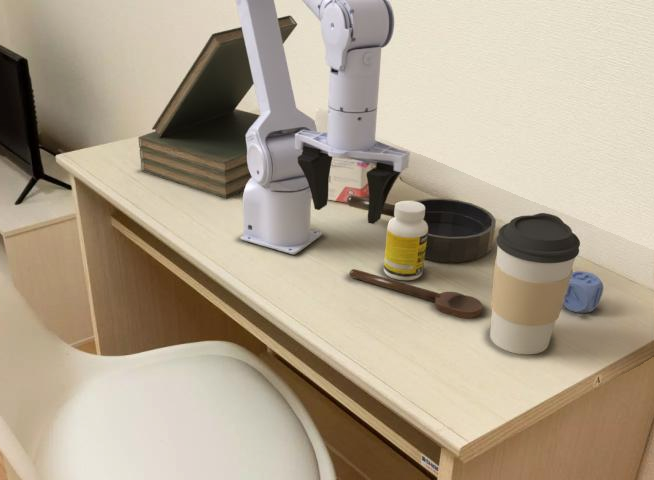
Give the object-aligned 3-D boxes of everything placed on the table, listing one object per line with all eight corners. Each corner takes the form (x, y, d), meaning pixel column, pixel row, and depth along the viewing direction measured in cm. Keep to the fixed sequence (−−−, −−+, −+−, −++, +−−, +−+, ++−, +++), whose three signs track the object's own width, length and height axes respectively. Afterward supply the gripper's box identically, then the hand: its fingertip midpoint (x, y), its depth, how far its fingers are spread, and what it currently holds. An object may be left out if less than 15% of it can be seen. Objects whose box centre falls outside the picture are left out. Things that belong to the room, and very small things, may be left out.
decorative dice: (585, 316, 100) (592, 289, 98) (556, 305, 102) (562, 278, 100) (599, 305, 103) (606, 278, 101) (571, 294, 105) (577, 267, 103)
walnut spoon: (342, 282, 106) (342, 274, 106) (357, 269, 110) (357, 262, 109) (473, 321, 99) (475, 313, 98) (486, 306, 102) (487, 298, 101)
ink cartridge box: (370, 195, 132) (376, 107, 124) (360, 206, 128) (366, 115, 120) (322, 187, 135) (325, 100, 127) (311, 197, 131) (313, 108, 123)
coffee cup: (543, 368, 90) (570, 249, 82) (469, 344, 94) (487, 228, 86) (567, 333, 97) (593, 219, 89) (496, 312, 101) (515, 201, 93)
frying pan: (378, 248, 115) (380, 223, 113) (418, 215, 126) (420, 191, 124) (471, 273, 110) (475, 247, 107) (504, 236, 120) (509, 211, 118)
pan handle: (344, 206, 123) (345, 196, 122) (349, 203, 124) (350, 192, 123) (399, 220, 119) (400, 209, 118) (404, 216, 120) (405, 205, 119)
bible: (227, 138, 155) (223, 1, 142) (308, 160, 146) (312, 16, 132) (140, 170, 139) (126, 20, 126) (225, 198, 130) (220, 38, 116)
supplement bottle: (421, 283, 107) (428, 216, 101) (381, 279, 107) (386, 212, 102) (424, 265, 111) (432, 200, 106) (385, 261, 112) (391, 196, 107)
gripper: (281, 103, 93) (281, 211, 100) (394, 125, 87) (385, 238, 94) (312, 90, 98) (309, 193, 105) (420, 110, 92) (409, 218, 99)
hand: (347, 213), depth 100 cm, fingers open, 7 cm apart
